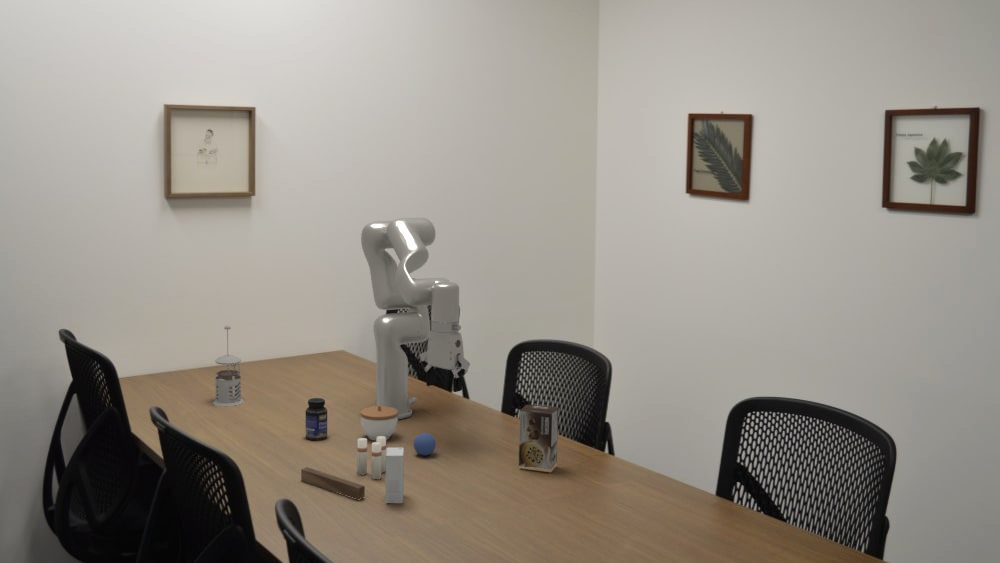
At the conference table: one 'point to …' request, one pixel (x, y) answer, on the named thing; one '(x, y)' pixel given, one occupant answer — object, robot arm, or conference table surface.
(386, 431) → the lidded jar
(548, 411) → the coffee box
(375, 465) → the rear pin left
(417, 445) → the ball
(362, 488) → the bar
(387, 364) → the robot arm
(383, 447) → the front pin
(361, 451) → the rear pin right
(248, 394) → the conference table surface
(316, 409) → the pill bottle
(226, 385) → the french press
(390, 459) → the skincare box
